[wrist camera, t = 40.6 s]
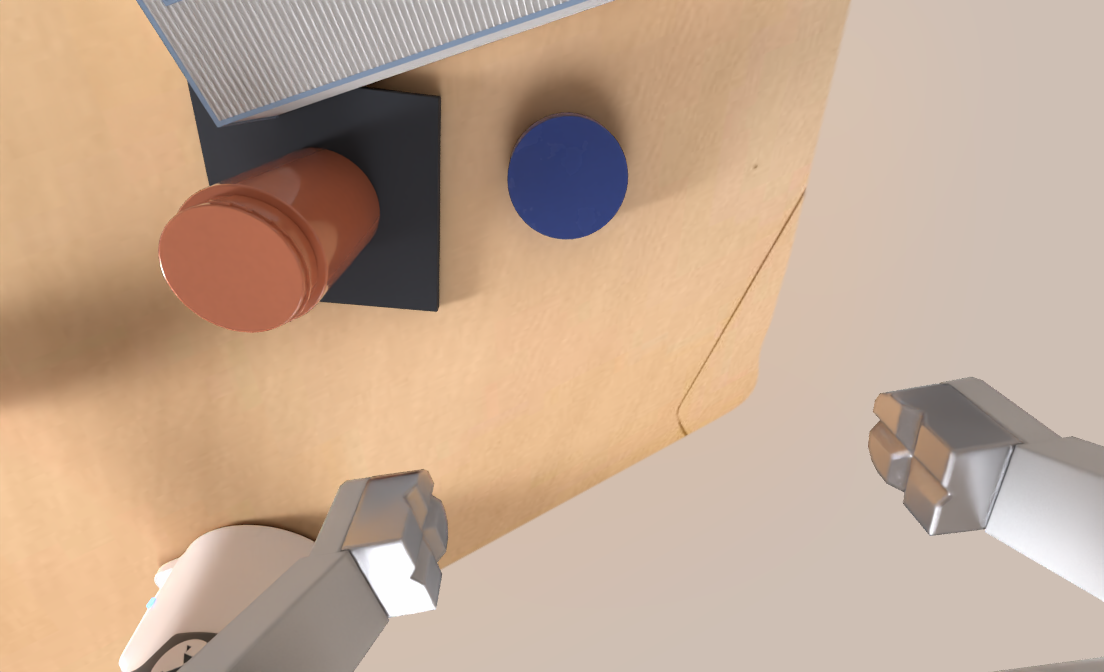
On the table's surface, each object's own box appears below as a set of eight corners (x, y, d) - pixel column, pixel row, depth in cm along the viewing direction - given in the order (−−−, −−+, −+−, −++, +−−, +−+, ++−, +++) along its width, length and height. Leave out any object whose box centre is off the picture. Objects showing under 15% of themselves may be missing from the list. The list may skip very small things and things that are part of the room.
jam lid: (647, 155, 30) (653, 161, 28) (582, 250, 33) (585, 260, 31) (547, 86, 28) (548, 88, 26) (488, 193, 31) (485, 201, 29)
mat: (439, 306, 34) (437, 312, 34) (238, 289, 33) (231, 294, 32) (441, 96, 28) (438, 97, 27) (192, 65, 27) (183, 65, 26)
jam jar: (382, 260, 32) (321, 347, 22) (276, 250, 31) (168, 334, 22) (377, 154, 28) (304, 203, 19) (259, 140, 28) (125, 185, 19)
